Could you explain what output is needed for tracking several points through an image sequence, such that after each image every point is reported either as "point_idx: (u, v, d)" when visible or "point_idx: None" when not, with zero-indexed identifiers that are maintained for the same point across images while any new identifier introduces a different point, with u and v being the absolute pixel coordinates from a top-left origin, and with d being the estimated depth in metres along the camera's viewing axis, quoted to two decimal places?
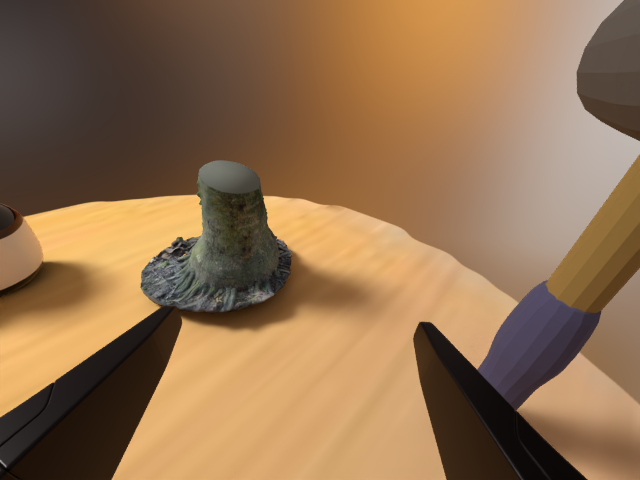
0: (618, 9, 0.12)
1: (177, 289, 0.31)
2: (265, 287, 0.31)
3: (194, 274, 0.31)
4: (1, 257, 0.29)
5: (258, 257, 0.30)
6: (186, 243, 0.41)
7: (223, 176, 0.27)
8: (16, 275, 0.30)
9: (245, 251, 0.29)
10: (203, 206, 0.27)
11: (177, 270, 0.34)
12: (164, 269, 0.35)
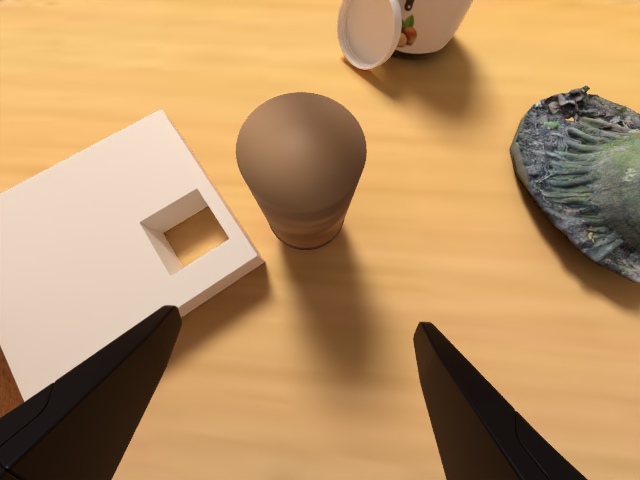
0: None
1: (551, 178, 0.25)
2: None
3: (590, 181, 0.23)
4: (444, 18, 0.25)
5: None
6: (586, 102, 0.29)
7: None
8: (433, 45, 0.27)
9: None
10: None
11: (561, 146, 0.26)
12: (549, 133, 0.27)
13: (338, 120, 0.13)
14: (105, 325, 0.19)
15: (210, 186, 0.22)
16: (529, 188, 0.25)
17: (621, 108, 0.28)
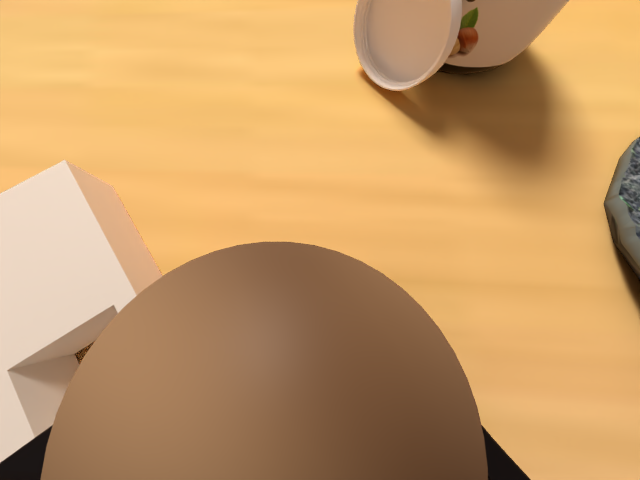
0: None
1: None
2: None
3: None
4: (530, 15, 0.15)
5: None
6: None
7: None
8: (500, 56, 0.18)
9: None
10: None
11: None
12: None
13: (391, 344, 0.04)
14: None
15: None
16: None
17: None
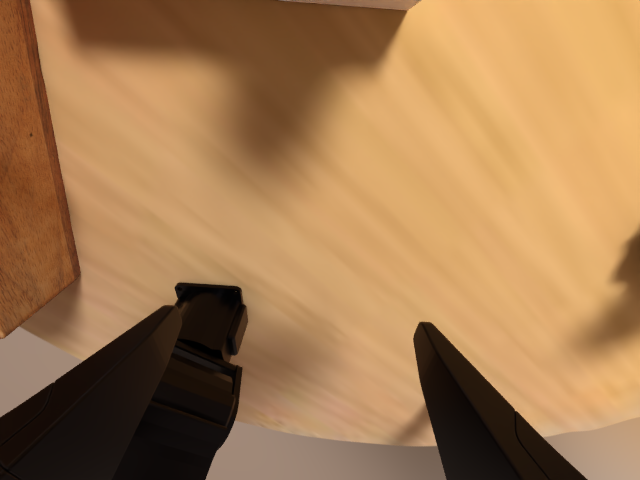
0: None
1: None
2: None
3: None
4: None
5: None
6: None
7: None
8: None
9: None
10: None
11: None
12: None
13: None
14: None
15: None
16: None
17: None
